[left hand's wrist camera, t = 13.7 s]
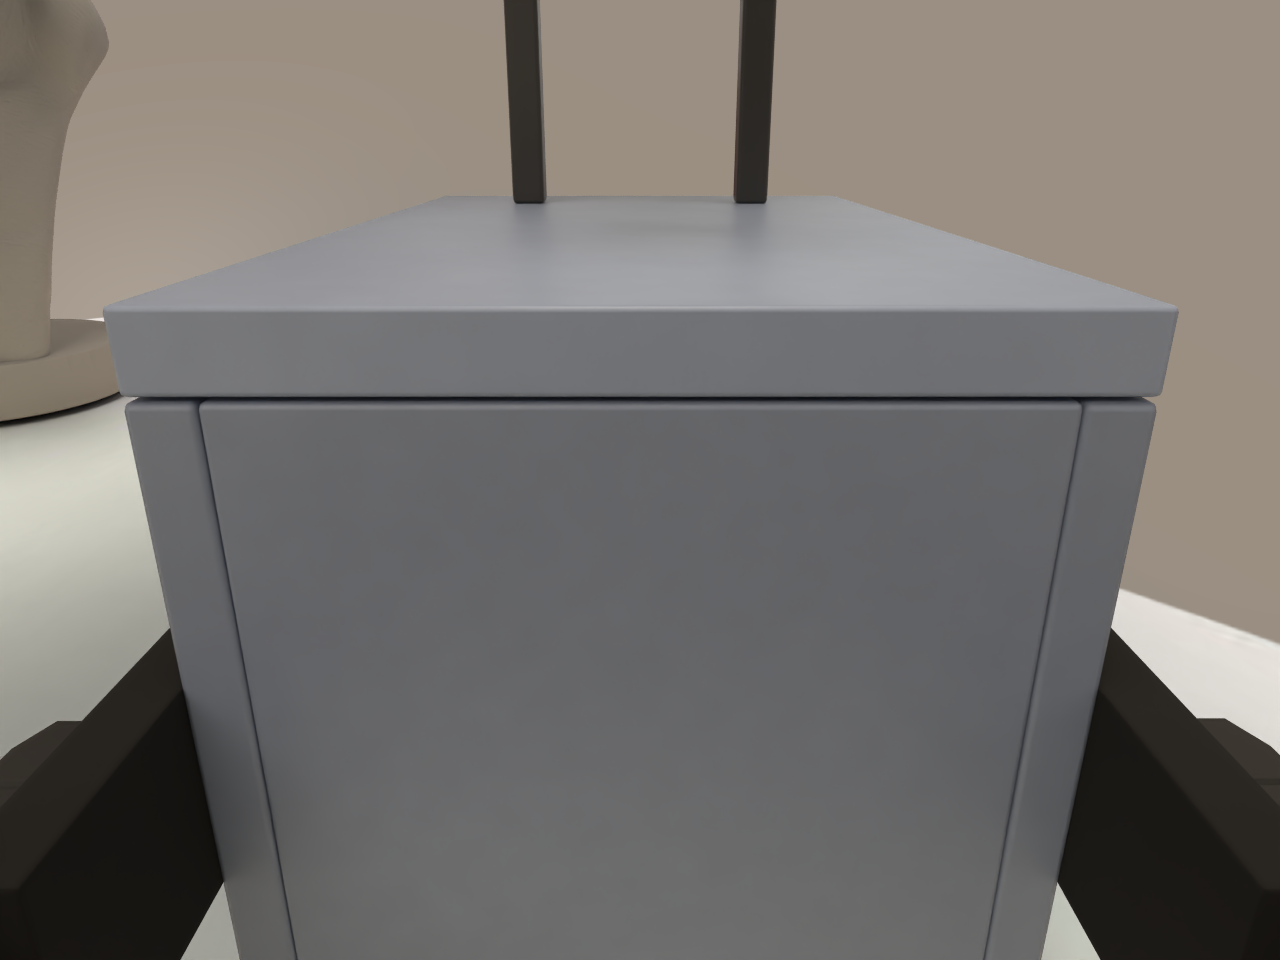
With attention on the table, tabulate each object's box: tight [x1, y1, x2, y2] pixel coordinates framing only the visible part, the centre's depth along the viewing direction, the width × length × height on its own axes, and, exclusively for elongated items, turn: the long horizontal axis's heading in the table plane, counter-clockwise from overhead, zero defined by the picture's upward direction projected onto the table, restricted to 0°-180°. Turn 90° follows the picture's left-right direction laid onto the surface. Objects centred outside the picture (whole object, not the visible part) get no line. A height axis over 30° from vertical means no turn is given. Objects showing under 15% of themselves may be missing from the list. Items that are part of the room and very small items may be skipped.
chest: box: [125, 397, 1156, 960], centre depth 18 cm, size 15×10×11 cm, turn 0°
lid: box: [103, 0, 1179, 397], centre depth 15 cm, size 16×10×8 cm, turn 0°
